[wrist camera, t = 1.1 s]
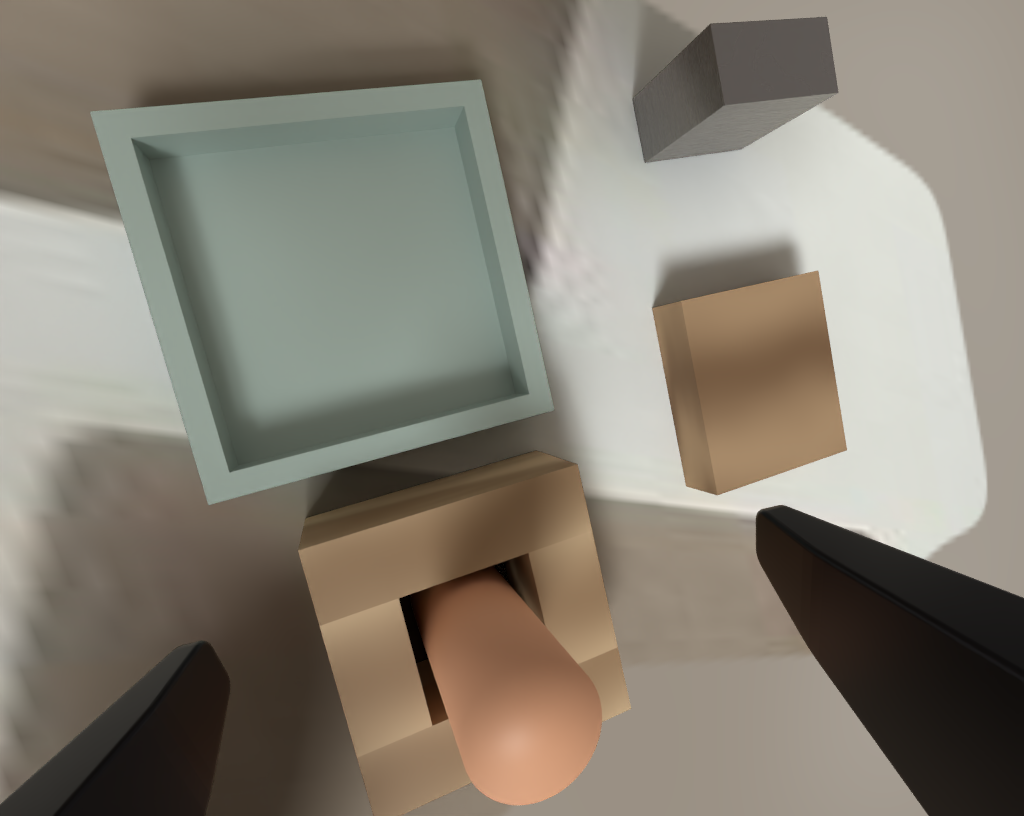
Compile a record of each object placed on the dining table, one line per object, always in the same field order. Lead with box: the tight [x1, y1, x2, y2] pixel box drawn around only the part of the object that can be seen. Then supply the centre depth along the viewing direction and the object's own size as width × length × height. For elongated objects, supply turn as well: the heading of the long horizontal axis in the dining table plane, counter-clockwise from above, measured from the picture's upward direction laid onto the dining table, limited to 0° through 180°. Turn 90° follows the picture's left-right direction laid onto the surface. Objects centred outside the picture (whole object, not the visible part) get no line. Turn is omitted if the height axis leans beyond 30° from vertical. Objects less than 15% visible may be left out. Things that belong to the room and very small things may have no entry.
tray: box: [90, 80, 554, 505], centre depth 19 cm, size 12×12×2 cm
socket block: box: [298, 451, 631, 816], centre depth 20 cm, size 9×9×4 cm
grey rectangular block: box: [633, 17, 838, 163], centre depth 21 cm, size 3×5×5 cm, turn 104°
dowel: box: [410, 565, 602, 805], centre depth 17 cm, size 4×4×9 cm
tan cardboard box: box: [652, 271, 847, 495], centre depth 24 cm, size 8×7×2 cm
